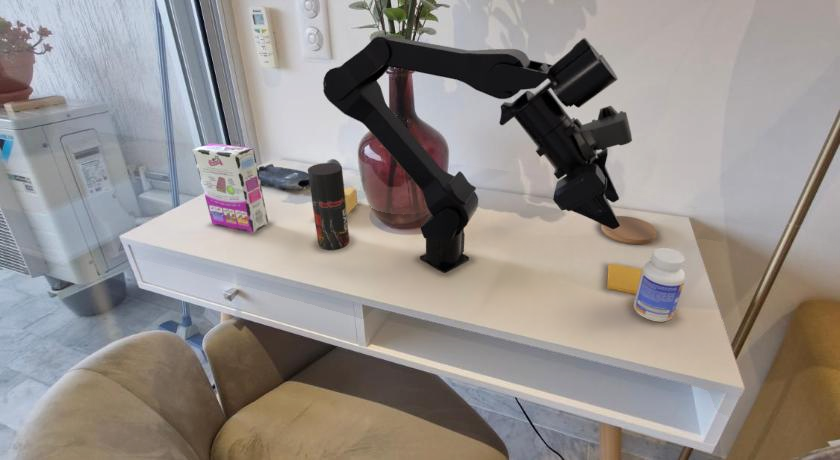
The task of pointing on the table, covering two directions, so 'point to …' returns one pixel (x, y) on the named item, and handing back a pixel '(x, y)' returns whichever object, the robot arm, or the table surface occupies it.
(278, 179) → the electronic device
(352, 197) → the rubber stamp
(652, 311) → the pill bottle
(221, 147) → the candy bar box
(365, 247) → the table surface
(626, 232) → the cork trivet
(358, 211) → the table surface
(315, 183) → the deodorant
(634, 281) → the mustard cloth
